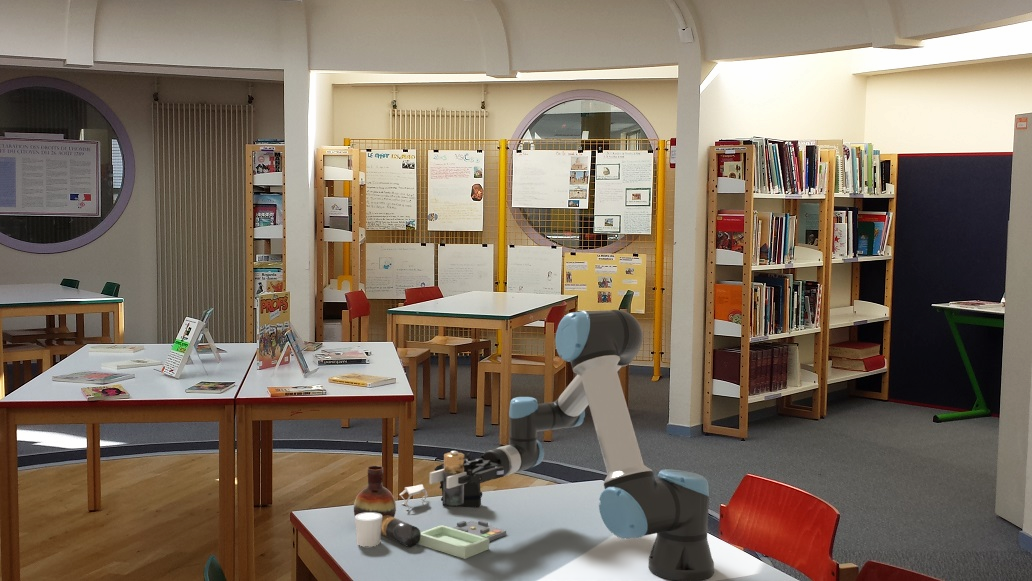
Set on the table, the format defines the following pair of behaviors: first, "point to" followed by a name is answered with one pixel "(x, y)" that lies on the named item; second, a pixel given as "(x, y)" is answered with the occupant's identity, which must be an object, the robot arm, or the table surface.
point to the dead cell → (400, 531)
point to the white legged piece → (413, 492)
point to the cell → (451, 467)
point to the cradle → (480, 529)
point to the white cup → (368, 528)
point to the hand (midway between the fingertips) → (439, 480)
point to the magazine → (466, 490)
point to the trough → (453, 541)
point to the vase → (375, 495)
